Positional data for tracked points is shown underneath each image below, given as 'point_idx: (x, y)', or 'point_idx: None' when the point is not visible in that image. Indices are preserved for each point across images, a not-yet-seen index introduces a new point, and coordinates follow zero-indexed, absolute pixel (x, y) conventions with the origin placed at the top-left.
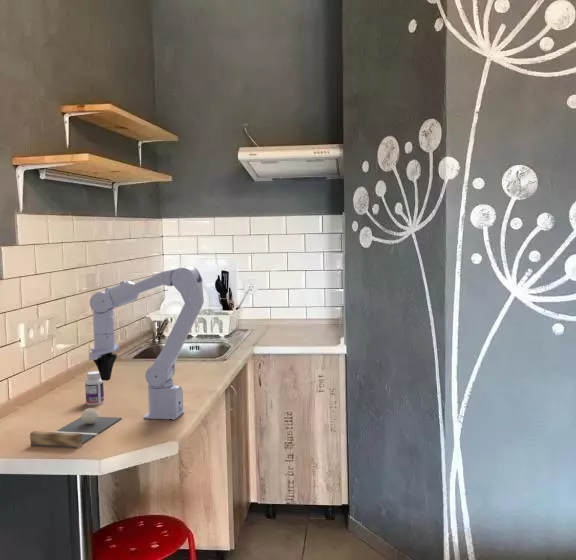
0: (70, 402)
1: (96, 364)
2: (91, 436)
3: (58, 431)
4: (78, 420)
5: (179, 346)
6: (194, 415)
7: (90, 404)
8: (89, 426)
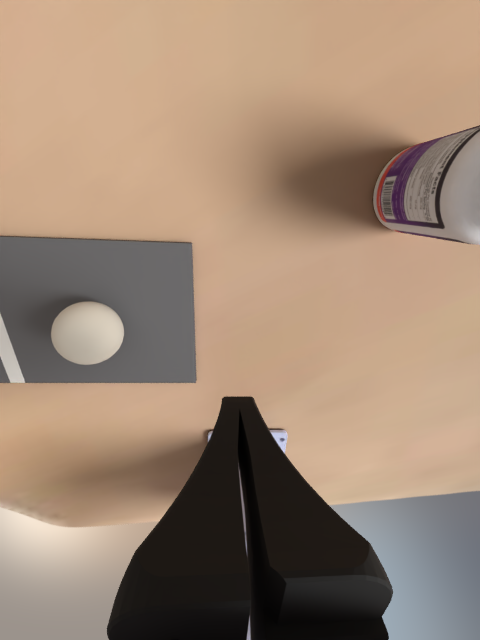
0: (455, 24)
1: (175, 503)
2: None
3: None
4: (131, 256)
5: None
6: None
7: (375, 186)
8: None
